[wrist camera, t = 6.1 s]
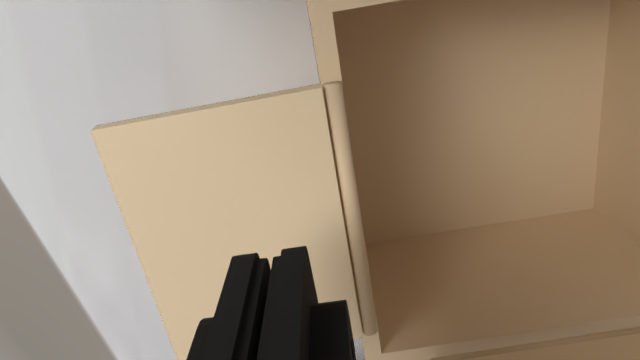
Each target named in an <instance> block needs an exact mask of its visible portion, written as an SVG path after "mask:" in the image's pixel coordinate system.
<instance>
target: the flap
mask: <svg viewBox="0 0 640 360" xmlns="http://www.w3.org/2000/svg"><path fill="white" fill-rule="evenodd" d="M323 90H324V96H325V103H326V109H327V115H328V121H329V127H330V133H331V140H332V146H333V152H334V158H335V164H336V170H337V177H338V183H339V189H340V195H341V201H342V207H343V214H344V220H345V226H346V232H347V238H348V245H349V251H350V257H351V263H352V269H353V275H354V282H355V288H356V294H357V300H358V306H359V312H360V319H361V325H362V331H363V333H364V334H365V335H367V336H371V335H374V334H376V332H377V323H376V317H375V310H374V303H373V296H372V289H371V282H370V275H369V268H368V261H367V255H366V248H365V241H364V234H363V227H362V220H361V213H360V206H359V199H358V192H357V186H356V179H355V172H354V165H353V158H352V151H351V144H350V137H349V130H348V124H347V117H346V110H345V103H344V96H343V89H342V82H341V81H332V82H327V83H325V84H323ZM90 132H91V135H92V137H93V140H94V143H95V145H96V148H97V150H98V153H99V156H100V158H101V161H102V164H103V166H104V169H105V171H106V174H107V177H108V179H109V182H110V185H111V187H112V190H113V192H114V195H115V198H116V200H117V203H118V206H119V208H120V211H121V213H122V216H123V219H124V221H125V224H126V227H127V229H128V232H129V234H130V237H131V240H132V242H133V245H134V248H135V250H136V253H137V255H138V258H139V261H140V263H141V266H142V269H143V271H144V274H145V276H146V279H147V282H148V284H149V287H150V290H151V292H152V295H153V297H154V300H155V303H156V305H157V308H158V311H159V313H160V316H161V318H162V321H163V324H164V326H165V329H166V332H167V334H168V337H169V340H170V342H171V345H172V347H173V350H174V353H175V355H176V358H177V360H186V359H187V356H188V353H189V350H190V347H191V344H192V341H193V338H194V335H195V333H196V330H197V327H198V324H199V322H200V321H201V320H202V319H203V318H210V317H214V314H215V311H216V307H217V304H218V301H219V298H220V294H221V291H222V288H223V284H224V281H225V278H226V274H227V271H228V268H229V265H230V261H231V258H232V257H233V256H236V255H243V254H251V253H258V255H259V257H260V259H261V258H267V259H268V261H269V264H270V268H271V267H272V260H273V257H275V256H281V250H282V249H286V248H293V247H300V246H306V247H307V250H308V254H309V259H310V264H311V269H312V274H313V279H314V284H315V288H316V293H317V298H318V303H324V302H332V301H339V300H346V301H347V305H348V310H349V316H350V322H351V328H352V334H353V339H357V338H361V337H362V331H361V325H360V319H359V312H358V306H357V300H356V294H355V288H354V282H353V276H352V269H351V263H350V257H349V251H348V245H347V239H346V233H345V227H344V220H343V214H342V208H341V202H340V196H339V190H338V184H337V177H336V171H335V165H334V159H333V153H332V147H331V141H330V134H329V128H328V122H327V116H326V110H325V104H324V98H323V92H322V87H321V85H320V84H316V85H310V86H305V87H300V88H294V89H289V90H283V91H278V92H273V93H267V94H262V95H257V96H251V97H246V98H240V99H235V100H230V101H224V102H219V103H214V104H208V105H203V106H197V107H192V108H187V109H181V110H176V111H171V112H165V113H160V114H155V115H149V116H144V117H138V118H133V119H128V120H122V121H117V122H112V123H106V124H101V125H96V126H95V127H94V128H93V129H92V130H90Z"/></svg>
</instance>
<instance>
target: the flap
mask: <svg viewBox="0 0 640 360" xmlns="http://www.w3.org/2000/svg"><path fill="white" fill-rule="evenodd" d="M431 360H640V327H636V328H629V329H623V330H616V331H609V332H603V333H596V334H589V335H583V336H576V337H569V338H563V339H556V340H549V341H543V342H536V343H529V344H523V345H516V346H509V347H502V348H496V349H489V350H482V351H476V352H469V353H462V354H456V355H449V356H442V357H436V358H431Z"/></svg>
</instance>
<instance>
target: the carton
mask: <svg viewBox="0 0 640 360" xmlns="http://www.w3.org/2000/svg"><path fill="white" fill-rule="evenodd" d="M307 5H308V12H309V18H310V24H311V30H312V36H313V42H314V48H315V54H316V60H317V67H318V73H319V79H320V85H321V87H322V92H323V98H324V104H325V110H326V116H327V122H328V128H329V134H330V141H331V147H332V153H333V159H334V165H335V171H336V177H337V170H336V164H335V158H334V152H333V146H332V140H331V133H330V127H329V121H328V115H327V109H326V103H325V96H324V90H323V84H325V83H327V82H332V81H341V82H342V89H343V96H344V103H345V110H346V117H347V124H348V130H349V137H350V144H351V151H352V158H353V165H354V172H355V179H356V186H357V192H358V199H359V206H360V213H361V220H362V227H363V234H364V241H365V248H366V255H367V261H368V268H369V275H370V282H371V289H372V296H373V303H374V310H375V317H376V323H377V332H376V334H374V335H371V336H367V335H365V334H364V333H363V331H362V325H361V319H360V312H359V306H358V300H357V294H356V288H355V282H354V275H353V269H352V263H351V257H350V251H349V245H348V238H347V232H346V226H345V220H344V214H343V207H342V201H341V195H340V189H339V183H338V177H337V184H338V190H339V196H340V202H341V208H342V214H343V220H344V227H345V233H346V239H347V245H348V251H349V257H350V263H351V269H352V276H353V282H354V288H355V294H356V300H357V306H358V312H359V319H360V325H361V331H362V341H363V347H364V353H365V359H366V360H427V359H431V358H436V357H442V356H449V355H456V354H462V353H469V352H476V351H482V350H489V349H496V348H502V347H509V346H516V345H523V344H529V343H536V342H543V341H549V340H556V339H563V338H569V337H576V336H583V335H589V334H596V333H603V332H609V331H616V330H623V329H629V328H636V327H640V0H307Z"/></svg>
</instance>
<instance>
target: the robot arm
mask: <svg viewBox="0 0 640 360" xmlns="http://www.w3.org/2000/svg"><path fill="white" fill-rule="evenodd" d="M186 360H356V356H355V348H354V341H353V334H352V328H351V322H350V316H349V310H348V305H347V301H346V300H339V301H332V302H324V303H318V298H317V293H316V288H315V284H314V279H313V274H312V269H311V264H310V259H309V254H308V250H307V247H306V246H300V247H293V248H286V249H282V250H281V256H275V257H273V260H272V267H271V268H270V264H269V261H268V259H267V258H261V259H260V257H259V255H258V253H251V254H243V255H236V256H233V257H232V258H231V261H230V265H229V268H228V271H227V274H226V278H225V281H224V284H223V288H222V291H221V294H220V298H219V301H218V304H217V307H216V311H215V314H214V317H210V318H203V319H202V320H201V321H200V322H199V324H198V327H197V330H196V333H195V335H194V338H193V341H192V344H191V347H190V350H189V353H188V356H187V359H186Z"/></svg>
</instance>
